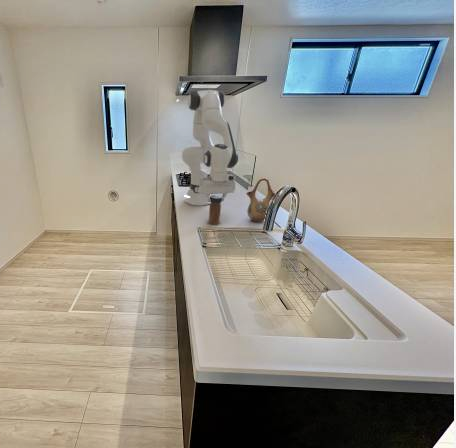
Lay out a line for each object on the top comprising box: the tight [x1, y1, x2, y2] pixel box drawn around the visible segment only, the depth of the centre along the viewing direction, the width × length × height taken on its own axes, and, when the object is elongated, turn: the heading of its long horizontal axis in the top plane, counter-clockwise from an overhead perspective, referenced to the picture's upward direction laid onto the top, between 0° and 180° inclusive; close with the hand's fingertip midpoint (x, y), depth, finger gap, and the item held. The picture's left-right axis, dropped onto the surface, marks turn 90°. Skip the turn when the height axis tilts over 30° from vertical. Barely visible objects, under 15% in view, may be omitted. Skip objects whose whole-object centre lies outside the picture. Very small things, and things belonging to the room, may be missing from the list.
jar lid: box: [209, 194, 223, 204], centre depth 132 cm, size 7×6×3 cm
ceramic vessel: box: [246, 177, 276, 223], centre depth 135 cm, size 16×9×25 cm, turn 87°
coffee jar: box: [207, 203, 222, 226], centre depth 135 cm, size 6×6×13 cm
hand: (215, 201), depth 133 cm, fingers closed on jar lid, 6 cm apart
